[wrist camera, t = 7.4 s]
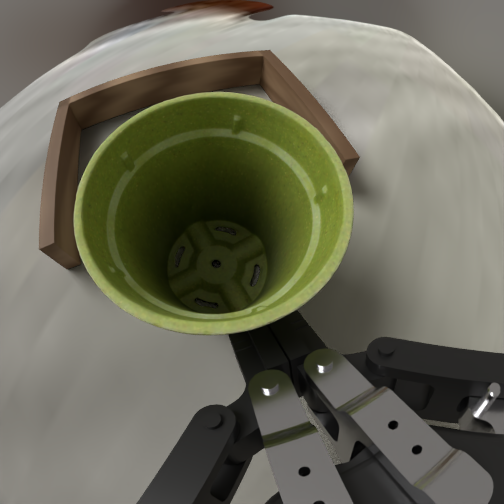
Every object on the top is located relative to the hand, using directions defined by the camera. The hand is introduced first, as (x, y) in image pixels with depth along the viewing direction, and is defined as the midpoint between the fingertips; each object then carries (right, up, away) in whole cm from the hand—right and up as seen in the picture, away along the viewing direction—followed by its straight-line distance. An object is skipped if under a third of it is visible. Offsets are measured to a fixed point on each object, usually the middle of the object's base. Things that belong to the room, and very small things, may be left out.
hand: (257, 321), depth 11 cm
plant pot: (-2, +2, +5) cm, 6 cm away
